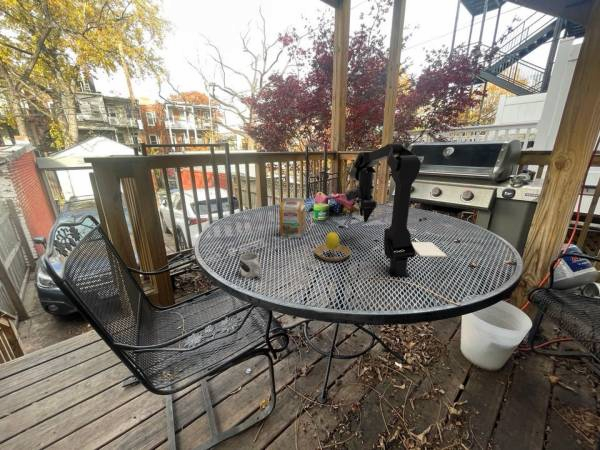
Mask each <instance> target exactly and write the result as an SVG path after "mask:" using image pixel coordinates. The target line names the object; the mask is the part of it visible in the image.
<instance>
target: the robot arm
mask: <svg viewBox="0 0 600 450" xmlns="http://www.w3.org/2000/svg"><path fill="white" fill-rule="evenodd" d="M386 159H387V160H386ZM383 160H386V164H387V165H388V166H389V168H390V176H391V177H392V179H393V182H394V194H393V204H392V213H391V214H392V215H391V224H390V226H389V228H385V229H384V236H383V250H384V256H386V259H388V260H389V266H386V267H385V268H386V270H387V273H388V274H389V275H390V277H398V278H400V277H406V278H408V277H410V276H411V274H410V273H409V271H408V263H409V259H410V258H411V259H412V258H414V257H416V253H417V252H416V251H415V249H414V247H413V245H412V242H413V241H412V240H411V239H412V235H411V234H412V233H411V232H410V230H409V228H408V220H409V219H408V218H409V212H410V203H411V195H412V187H413V186H412V185H413V183H414V182H415V181H417V180H416V179H417V178H419V177H418V176H419V173H420V170H421V167H422V166H421V165H422V163H421V162H422V161H421V159H420V158H419V157H418V156H417V155H416V153H414V152H413V151H412V150H410V149H408V148H406V147H405V146H404V145H403V144H402V143H399V142H397V143H394V142H393V143H386V144H385V145H384V146H381V147H379V148H377V149H374V150H372V151H361V152H358V154H357V156H356V159H355V160H354V163H353V166H352V168H351V169H350V171H349V178H350V179H351V180H353V181H357V182H358V184H357V185H356V188H353V189H351V190H348V191H345V192H344V193H343V194H344V196H345V199H346V201H347V202H350V201H352V200H354V201H355V202H356V203H357V204H358V210H359V216H361V217H363V222H364V223H367V222H368V221H369V219H370V217H371V215H372V213H373V212H374V210H375V209H376V208H377V204H378V203H377V202H376V201H375V199H374V196H373V189H374V187H375V186H374V185H373V181H374V174H375V173H377V171H376V169H374V167H375V166H376V165H378V164H379V162H380V161H383Z"/></svg>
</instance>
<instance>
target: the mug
mask: <svg viewBox="0 0 600 450" xmlns="http://www.w3.org/2000/svg"><path fill="white" fill-rule="evenodd" d="M259 258H260V257H259V254H258V253H256V252H246V253H243V254H241V255H240V256H239V267H240V276H241V275H242V276H244V277H247V278H246V279H253V278H255V277H262V275H263V269H262V265H261V264H260V259H259ZM242 276H241V277H242ZM244 277H243V278H244ZM252 277H253V278H252Z"/></svg>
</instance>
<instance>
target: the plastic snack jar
mask: <svg viewBox="0 0 600 450" xmlns="http://www.w3.org/2000/svg"><path fill="white" fill-rule="evenodd" d="M281 199H282V200H281V203H280V205H279V209H278V210H279V211H278V212H279V213H278V215H279V233H280V236H282V237H292V238H302V237H304V236H305V235H306V233H307V205H306V203H305V201H304V198H302V197H282V198H281ZM305 232H306V233H305ZM303 235H304V236H303ZM302 239H303V238H302Z"/></svg>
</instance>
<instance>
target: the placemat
mask: <svg viewBox="0 0 600 450" xmlns="http://www.w3.org/2000/svg"><path fill="white" fill-rule="evenodd" d="M411 242H412V245H413V247H414V249H415V252H416V253H417V255H418V256H420V257H421V258H447V257H448V255H447V254H446V253H445V252H443V251H442V250H441V249H440V248H439V247H437V245H436V244H434V243H433V242H431V241H429V242H428V241H427V242H425V241H421V242H419V241H418V242H416V241H411Z"/></svg>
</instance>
